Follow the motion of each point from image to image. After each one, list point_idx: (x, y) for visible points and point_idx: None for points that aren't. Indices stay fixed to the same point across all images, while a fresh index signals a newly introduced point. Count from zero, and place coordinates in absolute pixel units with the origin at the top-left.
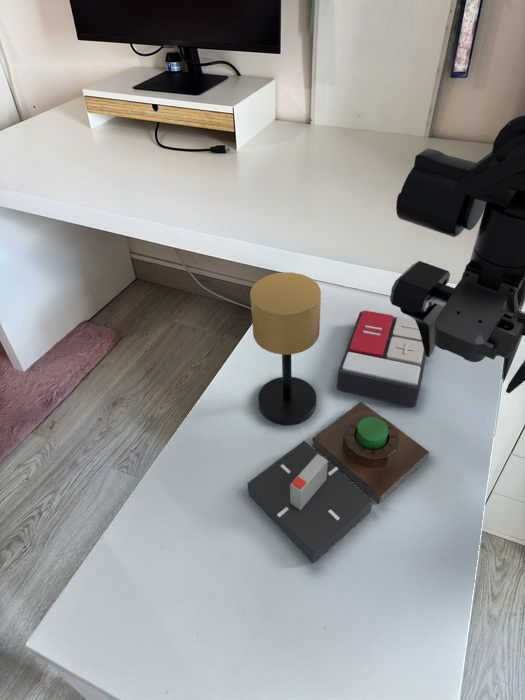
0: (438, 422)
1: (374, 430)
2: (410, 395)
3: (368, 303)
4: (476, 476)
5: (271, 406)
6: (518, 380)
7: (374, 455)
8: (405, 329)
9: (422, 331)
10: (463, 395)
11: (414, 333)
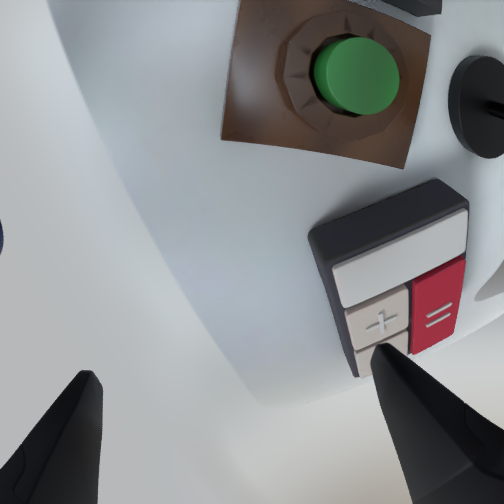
0: (252, 230)
1: (358, 72)
2: (329, 242)
3: None
4: (128, 170)
5: (500, 78)
6: (41, 433)
7: (316, 26)
8: None
9: (472, 422)
10: (247, 306)
11: None
